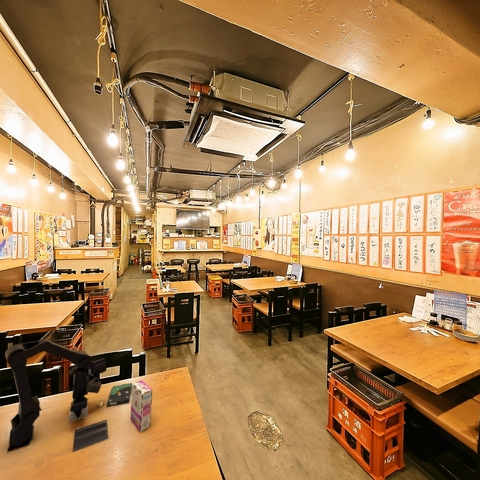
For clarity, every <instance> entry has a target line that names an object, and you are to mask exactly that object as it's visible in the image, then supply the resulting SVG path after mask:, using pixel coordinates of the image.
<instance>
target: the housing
mask: <svg viewBox="0 0 480 480" xmlns="http://www.w3.org/2000/svg"><path fill="white" fill-rule="evenodd" d="M88 405H89V403H87V407H86V408H83V409H82V412H81V415H80V417H78V418H77V417H76V415H75V413H74V412H70V411H69V413H68V414H69V415H68V423H70V422H74V421H78V420H80V419H83V418H87V417H88V408H89V407H88Z"/></svg>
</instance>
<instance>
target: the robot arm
mask: <svg viewBox="0 0 480 480" xmlns="http://www.w3.org/2000/svg"><path fill="white" fill-rule="evenodd" d="M43 352H45V353H48V354H51V355H53V356H55V357H58V358H61V359H65V360H67V361H68V362H70V363H71V364H73V365H74V366H72V368H70V370H69V371H68V373H69V374H70V375H71V376H73V383H72V384H73V385H72V399H73V400H72V401H71V403H70V407H69V412H74V413H75V415H76V417H77V418H78V417H80V415H81V412H82V409H83V408H86V407H87V403H88V400H89V399H88V397H86V396H87V395H89V393H92V394H94V393H95V394H99V393H100V390H101V388H102V381H100V380H99V377H94V376H97V375H100V374H103V373H106V372H107V368H108V367H107V361H106V359H105V358H104V357H102V358H100V359H97V360H94V361H93V360H92V357H91V356H90V355H89V354H88V353H87V352H86V351H85V350H80V349H79V350H78V349H71V348H68V347H67V346H66V347H65V346H64V345H62V344H61V345H60V344H58V343H56V342H53V341H50V340H49V339H47V338H42V339H38V340H35V341H30V342H24V343H22V344H17V343H16V344H14V345H12V346H9V348H7V349H6V351H5V353H4V356H5V359H6V361H7V364H8V366H9V367H10V369H11V371H12V373H13V377H14V382H15V387H16V390H17V395H18V399H19V402H18V411H17V414H15V415H14V417H12V418H11V420H10V424H11V429H10V432H9V437H8V439H9V443H8V447H7V449H6V451H7V453H9V452H12V451H14V450H17V449H21V448H24V447H26V446H29V445H30V444H31V440H33V438H34V433H35V425H34V424H35V422H36V420H37V419H38V418H39V417H40V416H41V415H40V414H41V413H40V412H41V411H42V408H41V406H40V405H41V403H40V402H41V401H40V400H39V397H38V395H35V396H33V394H32V388H31V386H30V380H29V377H28V372H27V371H28V370H27V364H28V359H30V358H33V357H34V356H36V355H38V354H40V353H43ZM75 366H76V367H75ZM89 376H92V377H94V378H93V379H91V380H89V379H90V378H89ZM88 404H89V403H88Z"/></svg>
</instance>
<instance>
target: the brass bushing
mask: <svg viewBox="0 0 480 480" xmlns="http://www.w3.org/2000/svg"><path fill="white" fill-rule="evenodd" d="M105 402H106V401H105V400H99V401H97V403H96V407H97V408H103V407H104V406H105Z"/></svg>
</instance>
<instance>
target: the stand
mask: <svg viewBox="0 0 480 480" xmlns="http://www.w3.org/2000/svg"><path fill="white" fill-rule="evenodd" d="M108 429H109V428H108V419H103V420H100V421H97V422H95V423H91V424H87V425H85V426H82V427H79V428H75V429H74V432H73V433H74V434H73V435H74V436H73V445H72V452H73V453H74V452H77V451H80V450H83V449H84V448H88V447H90V446H93V445H95V444H98V443H100V442H103V441H106V440H108V439H109V430H108Z"/></svg>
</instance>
